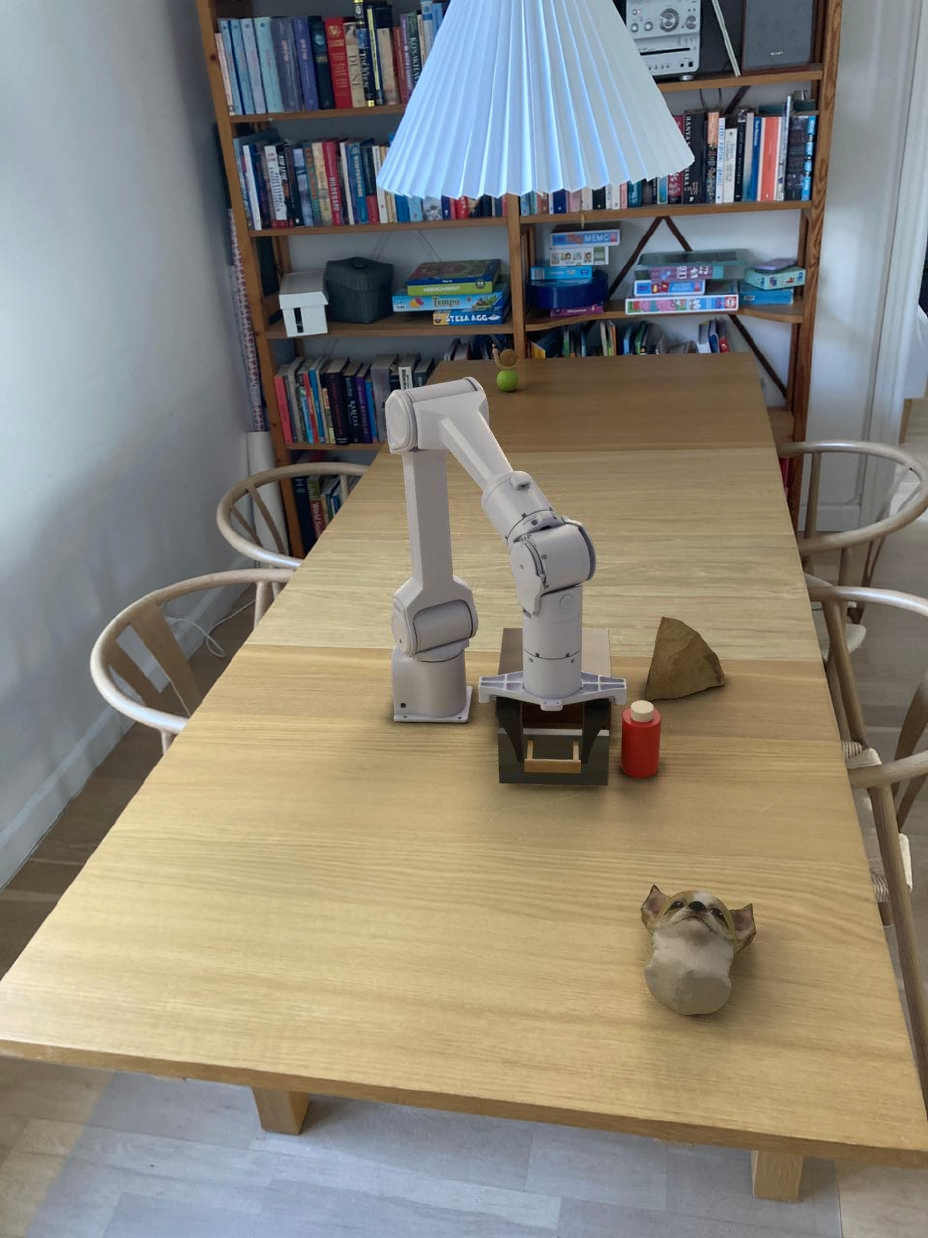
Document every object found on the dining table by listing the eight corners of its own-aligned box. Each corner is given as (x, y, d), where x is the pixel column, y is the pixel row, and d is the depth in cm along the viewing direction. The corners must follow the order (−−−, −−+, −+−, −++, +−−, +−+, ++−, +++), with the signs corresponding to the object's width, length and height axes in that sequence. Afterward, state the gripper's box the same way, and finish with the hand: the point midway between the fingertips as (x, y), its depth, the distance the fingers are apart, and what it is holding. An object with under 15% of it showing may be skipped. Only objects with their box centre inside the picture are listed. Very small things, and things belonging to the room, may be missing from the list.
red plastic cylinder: (621, 777, 118) (623, 717, 114) (619, 754, 121) (621, 695, 117) (659, 778, 117) (663, 718, 113) (656, 755, 121) (660, 696, 117)
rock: (732, 652, 136) (658, 634, 138) (740, 628, 128) (662, 609, 131) (714, 727, 133) (639, 707, 135) (721, 707, 125) (641, 686, 127)
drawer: (609, 814, 111) (611, 763, 107) (496, 811, 112) (494, 760, 109) (604, 727, 125) (606, 679, 122) (504, 725, 126) (503, 678, 123)
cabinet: (610, 742, 124) (612, 681, 119) (499, 740, 125) (497, 680, 121) (606, 686, 135) (608, 628, 130) (504, 684, 136) (503, 627, 132)
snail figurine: (490, 389, 255) (488, 341, 249) (514, 386, 257) (513, 338, 251) (497, 395, 251) (496, 346, 245) (521, 392, 252) (521, 343, 246)
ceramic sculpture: (623, 945, 84) (650, 836, 97) (617, 1020, 88) (644, 906, 101) (755, 974, 81) (765, 857, 94) (743, 1050, 85) (755, 928, 98)
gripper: (474, 665, 95) (479, 780, 102) (630, 667, 94) (625, 783, 100) (479, 627, 101) (484, 738, 108) (626, 629, 100) (621, 741, 106)
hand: (552, 757), depth 105 cm, fingers open, 6 cm apart
